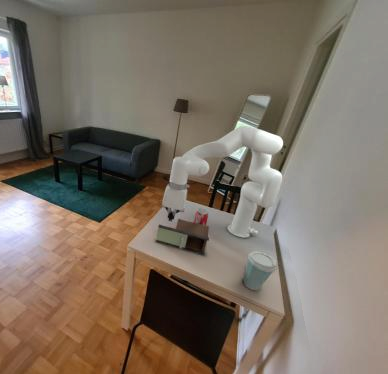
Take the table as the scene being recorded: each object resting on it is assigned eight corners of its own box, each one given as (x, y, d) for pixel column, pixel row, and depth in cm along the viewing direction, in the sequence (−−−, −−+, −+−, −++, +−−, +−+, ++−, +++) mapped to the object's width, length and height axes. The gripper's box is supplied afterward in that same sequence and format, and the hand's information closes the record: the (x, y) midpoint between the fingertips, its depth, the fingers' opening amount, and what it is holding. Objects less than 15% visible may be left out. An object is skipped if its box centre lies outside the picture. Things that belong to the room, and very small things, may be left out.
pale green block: (184, 246, 109) (187, 234, 105) (183, 251, 105) (187, 238, 102) (156, 238, 113) (158, 226, 109) (154, 243, 109) (156, 230, 106)
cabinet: (205, 241, 116) (209, 226, 111) (204, 255, 106) (209, 239, 101) (160, 229, 122) (163, 214, 118) (155, 241, 112) (158, 226, 108)
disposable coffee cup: (233, 277, 94) (243, 251, 88) (250, 271, 99) (260, 246, 92) (253, 298, 86) (266, 270, 79) (271, 290, 90) (284, 263, 84)
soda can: (205, 233, 123) (209, 215, 118) (192, 230, 124) (197, 213, 119) (204, 226, 129) (208, 209, 124) (192, 224, 130) (196, 207, 125)
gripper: (195, 185, 95) (187, 220, 103) (162, 178, 99) (157, 212, 107) (193, 192, 89) (185, 228, 96) (158, 184, 92) (153, 219, 100)
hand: (170, 219), depth 101 cm, fingers closed
